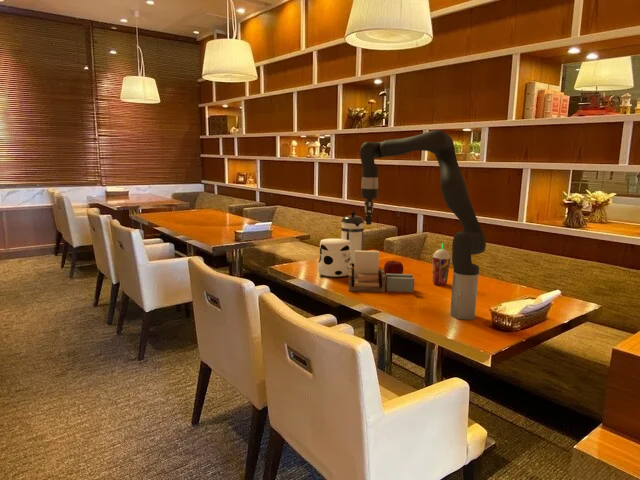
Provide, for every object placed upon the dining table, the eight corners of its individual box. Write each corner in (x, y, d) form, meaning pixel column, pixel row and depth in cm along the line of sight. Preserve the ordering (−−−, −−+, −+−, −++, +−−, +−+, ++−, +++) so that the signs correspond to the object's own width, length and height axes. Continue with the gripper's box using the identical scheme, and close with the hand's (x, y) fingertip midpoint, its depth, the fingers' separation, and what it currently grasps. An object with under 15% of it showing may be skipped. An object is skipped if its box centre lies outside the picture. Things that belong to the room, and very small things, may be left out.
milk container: (357, 278, 226) (359, 243, 222) (326, 281, 218) (327, 245, 215) (341, 270, 241) (342, 237, 238) (312, 273, 234) (312, 239, 230)
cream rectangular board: (377, 285, 209) (379, 252, 206) (353, 285, 210) (355, 251, 207) (377, 284, 212) (378, 251, 209) (353, 283, 212) (354, 250, 209)
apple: (406, 280, 223) (407, 261, 221) (394, 284, 216) (395, 263, 215) (391, 276, 230) (392, 257, 228) (379, 279, 223) (380, 260, 222)
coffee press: (369, 263, 259) (372, 210, 253) (357, 268, 245) (358, 213, 240) (343, 258, 268) (344, 208, 262) (329, 264, 254) (330, 211, 249)
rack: (384, 294, 200) (385, 276, 198) (348, 293, 201) (349, 275, 199) (382, 285, 214) (383, 269, 212) (348, 284, 214) (348, 268, 213)
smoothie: (449, 287, 213) (452, 245, 209) (431, 285, 215) (433, 244, 211) (447, 282, 221) (450, 242, 217) (430, 281, 223) (433, 241, 219)
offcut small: (378, 282, 202) (378, 276, 201) (358, 282, 202) (358, 276, 201) (376, 279, 207) (377, 273, 206) (357, 279, 206) (357, 273, 206)
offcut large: (378, 291, 201) (379, 283, 201) (354, 290, 202) (354, 282, 201) (377, 287, 207) (378, 279, 206) (353, 286, 208) (354, 279, 207)
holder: (413, 294, 201) (414, 278, 200) (386, 293, 202) (387, 278, 200) (411, 288, 209) (412, 274, 208) (385, 288, 210) (385, 273, 208)
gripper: (379, 188, 195) (377, 225, 198) (377, 186, 209) (375, 221, 212) (361, 188, 196) (360, 225, 199) (360, 186, 210) (359, 220, 213)
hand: (368, 223), depth 206 cm, fingers open, 8 cm apart
